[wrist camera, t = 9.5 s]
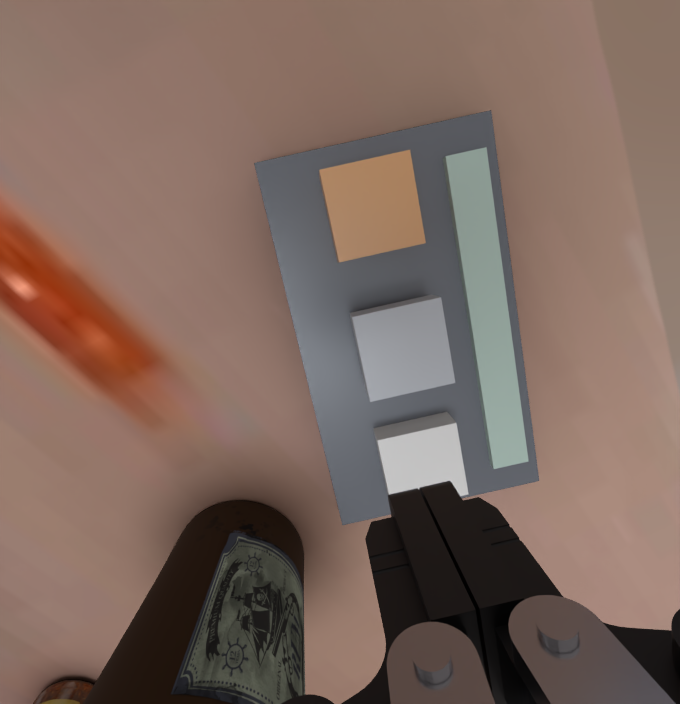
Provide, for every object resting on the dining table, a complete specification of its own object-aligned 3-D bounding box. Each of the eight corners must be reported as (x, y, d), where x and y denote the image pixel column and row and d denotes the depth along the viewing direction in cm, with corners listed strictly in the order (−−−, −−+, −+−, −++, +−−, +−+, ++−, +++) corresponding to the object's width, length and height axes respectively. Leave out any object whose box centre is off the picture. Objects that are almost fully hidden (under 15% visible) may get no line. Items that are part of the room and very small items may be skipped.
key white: (387, 495, 29) (392, 511, 27) (373, 428, 28) (377, 440, 26) (458, 479, 29) (468, 494, 27) (447, 411, 28) (456, 422, 26)
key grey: (366, 391, 26) (370, 401, 24) (349, 312, 25) (352, 317, 23) (445, 374, 26) (455, 382, 25) (431, 294, 25) (441, 297, 23)
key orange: (337, 262, 26) (339, 262, 24) (319, 176, 25) (319, 169, 23) (417, 244, 26) (425, 243, 24) (402, 158, 25) (409, 149, 23)
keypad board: (341, 508, 32) (343, 530, 29) (258, 170, 27) (252, 160, 24) (525, 467, 32) (543, 485, 29) (478, 121, 27) (495, 106, 24)
